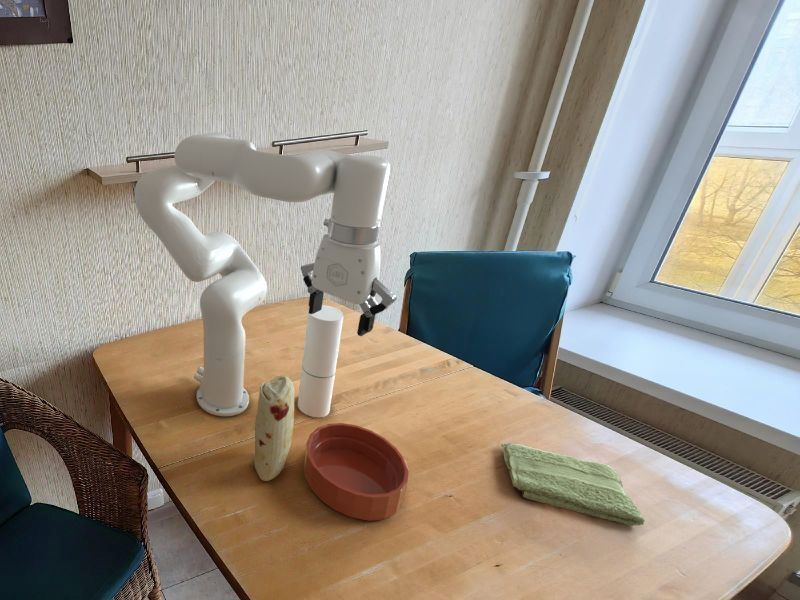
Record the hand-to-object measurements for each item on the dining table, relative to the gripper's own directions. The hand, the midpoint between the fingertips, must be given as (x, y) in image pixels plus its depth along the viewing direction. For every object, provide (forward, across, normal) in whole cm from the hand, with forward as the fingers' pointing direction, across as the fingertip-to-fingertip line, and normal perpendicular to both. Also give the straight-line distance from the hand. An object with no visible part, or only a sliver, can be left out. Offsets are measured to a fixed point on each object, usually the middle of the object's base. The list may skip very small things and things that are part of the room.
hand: (338, 322), depth 77 cm
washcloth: (+30, +33, +28) cm, 52 cm away
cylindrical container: (+31, -8, +10) cm, 33 cm away
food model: (+31, -3, -11) cm, 33 cm away
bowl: (+30, +8, -2) cm, 31 cm away
